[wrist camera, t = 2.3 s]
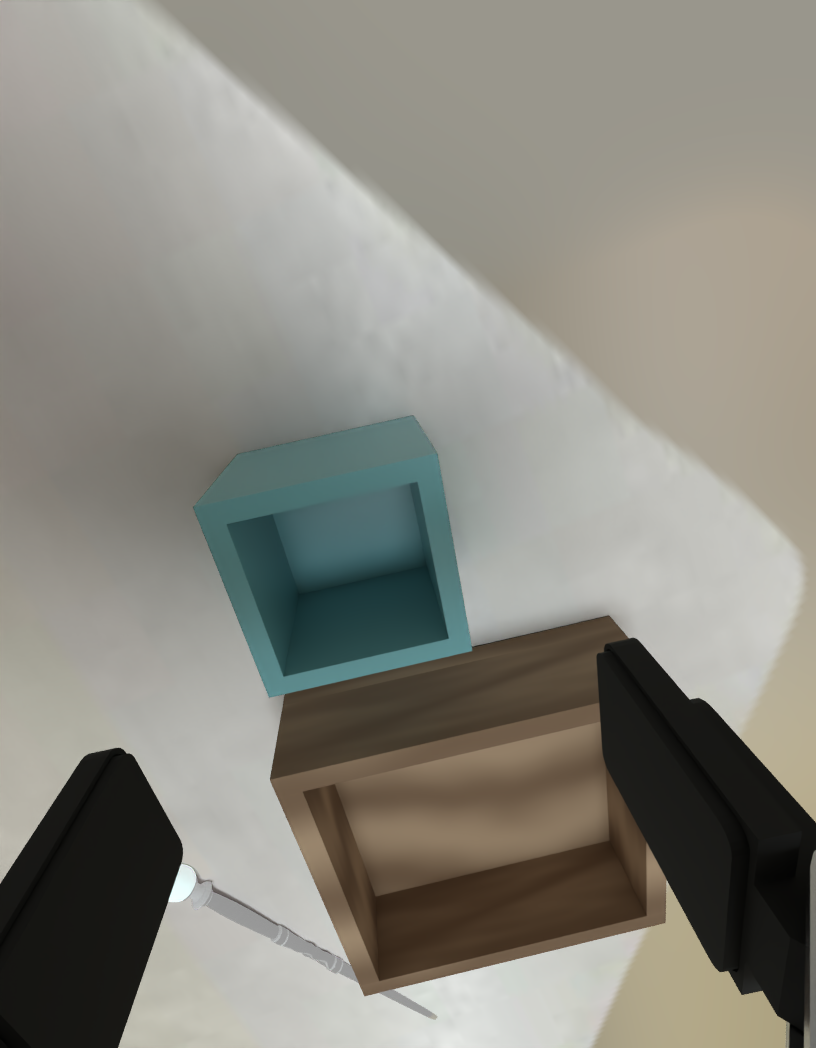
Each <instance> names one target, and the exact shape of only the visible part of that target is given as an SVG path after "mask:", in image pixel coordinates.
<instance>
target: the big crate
mask: <svg viewBox="0 0 816 1048" xmlns="http://www.w3.org/2000/svg"><path fill="white" fill-rule="evenodd" d="M625 639H629V638H628V637H627V636H626V635H625V633H624V632H623V631H622V630H621V629H620V628H619V626H618V625H617V624H616V623H615V622H614V621H613V619H612V618H611V617H610V616H607V617H602V618H598V619H594V620H589V621H585V622H581V623H576V624H572V625H568V626H563V627H559V628H555V629H550V630H546V631H542V632H537V633H533V634H529V635H524V636H520V637H516V638H511V639H507V640H502V641H498V642H494V643H489V644H485V645H481V646H476V647H472V651H470V652H466V653H461V654H457V655H453V656H448V657H444V658H440V659H435V660H431V661H427V662H422V663H418V664H413V665H409V666H405V667H400V668H396V669H392V670H387V671H383V672H379V673H374V674H370V675H366V676H361V677H357V678H353V679H348V680H344V681H340V682H335V683H331V684H327V685H322V686H318V687H314V688H309V689H305V690H300V691H296V692H292V693H287V694H285V697H284V702H283V708H282V714H281V720H280V725H279V731H278V737H277V742H276V748H275V754H274V759H273V765H272V771H271V777H270V781H271V783H272V786H273V788H274V790H275V793H276V795H277V797H278V799H279V802H280V804H281V806H282V809H283V811H284V813H285V815H286V818H287V820H288V822H289V825H290V827H291V829H292V831H293V834H294V836H295V838H296V841H297V843H298V845H299V847H300V850H301V852H302V854H303V857H304V859H305V861H306V863H307V866H308V868H309V870H310V873H311V875H312V877H313V879H314V882H315V884H316V886H317V889H318V891H319V893H320V896H321V898H322V900H323V902H324V905H325V907H326V909H327V912H328V914H329V916H330V918H331V921H332V923H333V925H334V928H335V930H336V932H337V934H338V937H339V939H340V941H341V944H342V946H343V948H344V950H345V953H346V955H347V957H348V960H349V962H350V964H351V966H352V969H353V971H354V973H355V976H356V978H357V980H358V982H359V985H360V987H361V989H362V992H363V994H364V996H367V995H372V994H376V993H380V992H384V991H388V990H392V989H396V988H400V987H404V986H408V985H413V984H417V983H421V982H425V981H429V980H433V979H437V978H441V977H445V976H450V975H454V974H458V973H462V972H466V971H470V970H474V969H478V968H482V967H486V966H491V965H495V964H499V963H503V962H507V961H511V960H515V959H519V958H523V957H527V956H532V955H536V954H540V953H544V952H548V951H552V950H556V949H560V948H564V947H568V946H573V945H577V944H581V943H585V942H589V941H593V940H597V939H601V938H605V937H609V936H614V935H618V934H622V933H626V932H630V931H634V930H638V929H642V928H646V927H650V926H655V925H659V924H662V923H665V920H666V919H665V918H666V877H665V875H664V874H663V872H662V870H661V868H660V866H659V864H658V863H657V861H656V859H655V857H654V855H653V853H652V851H651V850H650V848H649V846H648V844H647V842H646V840H645V838H644V837H643V835H642V833H641V831H640V829H639V827H638V825H637V824H636V822H635V820H634V818H633V816H632V814H631V812H630V811H629V809H628V807H627V805H626V803H625V801H624V799H623V798H622V796H621V794H620V792H619V790H618V788H617V787H616V785H615V783H614V781H613V779H612V777H611V775H610V774H609V771H608V769H607V767H606V764H605V761H604V758H603V753H602V739H601V723H600V708H599V692H598V676H597V661H596V656H597V654H598V653H601V652H604V646H605V644H607V643H611V642H616V641H621V640H625Z"/></svg>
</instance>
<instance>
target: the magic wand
mask: <svg viewBox="0 0 816 1048" xmlns="http://www.w3.org/2000/svg"><path fill="white" fill-rule="evenodd" d="M189 898H190V899H192V907H193V909H194V910H198V909H200V908H201V907H202V906H205V905H206V906H207V907H209V908H211V909H212V910H214V911H216V912H217V913H219V914H221V915H223V916H225V917H226V918H228V919H230V920H232V921H234V922H236V923H238V924H240V925H242V926H244V927H247V928H249V929H251V930H253V931H255V932H257V933H260V934H262V935H264V936H266V937H269V938H271V941H272V942H274V943H276V944H278V945H280V946H284V947H287V948H290V949H292V950H294V951H296V952H301V953H302V954H303V955H304V956H307V957H310V958H311V959H313V960H316V961H317V962H319V963H320V964H322V965H324V966H325V967H326V968H327V969H328V970H329V971H331V972H333V973H335V974H338V973H340V974H342V975H344V976H346V977H348V978H350V979H352V980H354V981H356V982H358V980H357V978H356V976H355V973H354V971H353V969H352V966H350V965H349V964H347V963H345V962H343V960H342V959H341V958H339V957H337V956H335V955H331V954H329V953H328V952H325V951H322V950H321V949H320V948H318V947H316V946H314V945H313V944H312V943H308V942H306V941H305V940H303V939H302V938H300V937H298V936H296V935H295V934H293V933H292V932H291V931H289V930H288V929H286V928H284V927H282V926H280V925H278V926H277V925H275V924H273V923H272V922H270V921H268V920H267V919H265V918H263V917H261V916H260V915H258V914H256V913H255V912H253V911H251V910H249V909H248V908H246V907H244V906H242V905H240V904H238V903H236V902H234V901H232V900H230V899H228V898H226V897H224V896H222V895H219V894H217V893H215V892H213V890H212V882H210V881H206V882H203V883H202V884H199V883H198V881H197V877H196V874H195V872H194V870H193V869H192V868H191V867H190V866H187V865H184V864H181V866H180V869H179V871H178V874H177V877H176V880H175V883H174V886H173V889H172V892H171V895H170V898H169V902H180V901H182V900H186V899H189ZM358 983H359V982H358ZM380 994H382V995H384V996H386V997H388V998H390V999H392V1000H394V1001H396V1002H398V1003H400V1004H402V1005H404V1006H406V1007H408V1008H410V1009H412V1010H414V1011H416V1012H419V1013H421V1014H423V1015H425V1016H427V1017H429V1018H431V1019H436V1018H437V1016H436V1015H435V1014H433V1013H432V1012H430V1011H429V1010H427V1009H425V1008H424V1007H422V1006H420V1005H418V1004H417V1003H415V1002H413V1001H412V1000H410V999H408V998H406V997H405V996H403V995H401V994H399V993H398V992H396V991H394V990H393V989H392V990H388V991H384V992H380Z"/></svg>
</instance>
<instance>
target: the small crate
mask: <svg viewBox="0 0 816 1048" xmlns="http://www.w3.org/2000/svg"><path fill="white" fill-rule="evenodd" d="M193 508H194V511H195V513H196V516H197V518H198V521H199V523H200V526H201V528H202V531H203V533H204V536H205V538H206V541H207V543H208V546H209V548H210V551H211V553H212V556H213V558H214V561H215V563H216V566H217V568H218V571H219V573H220V576H221V578H222V581H223V583H224V586H225V588H226V591H227V593H228V596H229V598H230V601H231V603H232V606H233V608H234V611H235V613H236V616H237V618H238V621H239V623H240V626H241V628H242V631H243V633H244V636H245V638H246V641H247V643H248V646H249V648H250V651H251V653H252V656H253V658H254V661H255V663H256V666H257V668H258V671H259V673H260V676H261V678H262V681H263V683H264V686H265V688H266V691H267V693H268V696H269V698H270V697H274V696H279V695H283V694H287V693H292V692H296V691H300V690H305V689H309V688H314V687H318V686H322V685H327V684H331V683H335V682H340V681H344V680H348V679H353V678H357V677H361V676H366V675H370V674H374V673H379V672H383V671H387V670H392V669H396V668H400V667H405V666H409V665H413V664H418V663H422V662H427V661H431V660H435V659H440V658H444V657H448V656H453V655H457V654H461V653H466V652H470V651H472V646H471V640H470V634H469V629H468V623H467V618H466V612H465V606H464V601H463V595H462V589H461V584H460V578H459V573H458V567H457V561H456V556H455V550H454V545H453V539H452V533H451V528H450V522H449V517H448V511H447V505H446V500H445V494H444V489H443V483H442V477H441V472H440V466H439V461H438V455H437V452H436V451H435V449H434V447H433V446H432V444H431V443H430V441H429V439H428V438H427V436H426V435H425V433H424V431H423V430H422V428H421V427H420V425H419V424H418V422H417V420H416V419H415V417H414V416H408V417H404V418H399V419H395V420H390V421H386V422H381V423H376V424H372V425H367V426H363V427H358V428H354V429H349V430H345V431H340V432H336V433H331V434H326V435H322V436H317V437H313V438H308V439H304V440H299V441H295V442H290V443H286V444H281V445H276V446H272V447H267V448H263V449H258V450H254V451H249V452H245V453H240V454H237V455H236V456H235V458H234V459H233V460H232V461H231V462H230V464H229V465H228V466H227V467H226V468H225V470H224V471H223V472H222V473H221V474H220V476H219V477H218V478H217V479H216V480H215V482H214V483H213V484H212V485H211V486H210V488H209V489H208V490H207V491H206V492H205V494H204V495H203V496H202V497H201V499H200V500H199V501H198V502H197V503H196V505H195V506H194V507H193Z"/></svg>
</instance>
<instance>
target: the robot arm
mask: <svg viewBox="0 0 816 1048" xmlns="http://www.w3.org/2000/svg"><path fill="white" fill-rule="evenodd" d="M596 661H597V676H598V692H599V708H600V723H601V739H602V753H603V758H604V761H605V764H606V767H607V769H608V771H609V774H610V775H611V777H612V779H613V781H614V783H615V785H616V787H617V788H618V790H619V792H620V794H621V796H622V798H623V799H624V801H625V803H626V805H627V807H628V809H629V811H630V812H631V814H632V816H633V818H634V820H635V822H636V824H637V825H638V827H639V829H640V831H641V833H642V835H643V837H644V838H645V840H646V842H647V844H648V846H649V848H650V850H651V851H652V853H653V855H654V857H655V859H656V861H657V863H658V864H659V866H660V868H661V870H662V872H663V874H664V875H665V877H666V879H667V881H668V883H669V885H670V887H671V888H672V890H673V892H674V894H675V896H676V898H677V899H678V901H679V903H680V905H681V907H682V909H683V911H684V913H685V914H686V916H687V918H688V920H689V922H690V923H691V925H692V927H693V929H694V931H695V933H696V935H697V937H698V939H699V940H700V942H701V944H702V946H703V948H704V950H705V951H706V953H707V955H708V957H709V959H710V960H711V962H712V964H713V965H714V966H715V968H716V969H717V970H718V971H719V972H724V971H729V973H730V975H731V977H732V978H733V980H734V982H735V983H736V986H737V987H738V989H739V991H740V992H741V994H742V995H744V994H749V993H753V992H758V991H763V992H764V994H765V996H766V997H767V999H768V1000H769V1002H770V1004H771V1006H772V1007H773V1009H774V1010H775V1012H776V1014H777V1016H779V1017H781V1018H782V1019H784V1020H785V1021H787V1022H786V1023H787V1024H786V1048H816V823H815V821H814V820H813V819H812V818H811V817H810V816H809V815H808V813H806V811H805V810H804V809H803V808H802V807H801V806H800V805H799V803H798V802H797V801H796V800H795V799H794V798H793V797H792V796H791V795H790V793H789V792H788V791H787V790H786V789H785V788H784V787H783V786H782V785H781V784H780V782H778V780H777V779H776V778H775V777H774V776H773V775H772V773H771V772H770V771H769V770H768V769H767V768H766V767H765V766H764V765H763V763H762V762H761V761H760V760H759V759H758V758H757V757H756V756H755V755H754V754H753V752H752V751H751V750H750V749H749V748H748V747H747V746H746V745H745V743H744V742H743V741H742V740H741V739H740V738H739V737H738V736H737V735H736V733H735V732H734V731H733V730H732V729H731V728H730V727H729V726H728V725H727V723H726V722H725V721H724V720H723V719H722V718H721V717H720V716H719V715H718V713H717V712H716V711H715V710H714V709H713V708H712V707H711V706H710V705H709V704H708V703H707V702H706V701H704V700H702V699H700V698H696V699H691V700H689V699H688V697H687V696H686V695H685V694H684V693H683V692H682V690H681V689H680V688H679V687H678V686H677V685H676V683H675V682H674V681H673V680H672V679H671V678H670V676H669V675H668V674H667V673H666V672H665V671H664V669H663V668H662V667H661V666H660V665H659V664H658V662H657V661H656V660H655V659H654V658H653V657H652V655H651V654H650V653H649V652H648V651H647V650H646V648H645V647H644V646H643V645H642V644H641V643H640V642H639V641H638V640H637V639H636V638H630V639H625V640H621V641H616V642H611V643H607V644H605V646H604V652H601V653H598V654H597V656H596ZM182 857H183V847H182V843H181V840H180V838H179V837H178V835H177V833H176V831H175V829H174V828H173V826H172V824H171V822H170V821H169V819H168V817H167V815H166V813H165V812H164V810H163V808H162V806H161V804H160V803H159V801H158V799H157V797H156V795H155V794H154V792H153V790H152V788H151V786H150V785H149V783H148V781H147V779H146V777H145V776H144V774H143V772H142V770H141V768H140V767H139V765H138V763H137V761H136V759H135V758H134V756H133V755H131V754H130V753H129V754H126V752H125V751H124V750H123V749H121V748H114V749H109V750H105V751H100V752H95V753H91V754H88V755H86V756H85V757H84V758H83V759H82V760H81V761H80V763H79V764H78V766H77V767H76V769H75V770H74V772H73V774H72V775H71V777H70V778H69V780H68V781H67V783H66V784H65V786H64V787H63V789H62V790H61V792H60V793H59V795H58V796H57V798H56V799H55V801H54V803H53V804H52V806H51V807H50V809H49V810H48V812H47V813H46V815H45V816H44V818H43V819H42V821H41V822H40V824H39V825H38V827H37V829H36V830H35V832H34V833H33V835H32V836H31V838H30V839H29V841H28V842H27V844H26V845H25V847H24V848H23V850H22V851H21V853H20V854H19V856H18V858H17V859H16V861H15V862H14V864H13V865H12V867H11V868H10V870H9V871H8V873H7V874H6V876H5V877H4V879H3V880H2V882H1V884H0V1048H118V1046H119V1043H120V1040H121V1037H122V1034H123V1031H124V1028H125V1026H126V1023H127V1020H128V1017H129V1014H130V1011H131V1008H132V1005H133V1002H134V999H135V996H136V994H137V991H138V988H139V985H140V982H141V979H142V976H143V973H144V970H145V967H146V964H147V962H148V959H149V956H150V953H151V950H152V947H153V944H154V941H155V938H156V935H157V933H158V930H159V927H160V924H161V921H162V918H163V915H164V912H165V909H166V906H167V903H168V901H169V898H170V895H171V892H172V889H173V886H174V883H175V880H176V877H177V874H178V871H179V869H180V866H181V862H182Z"/></svg>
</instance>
